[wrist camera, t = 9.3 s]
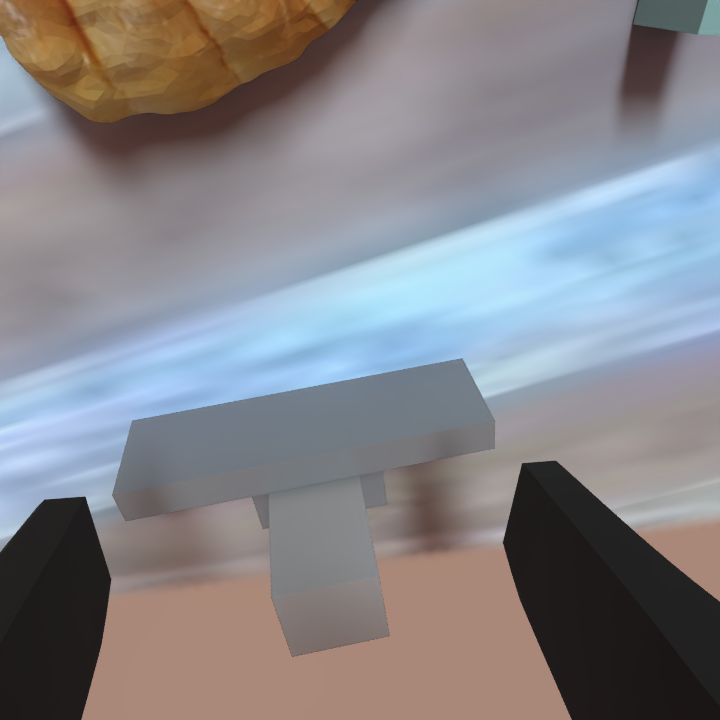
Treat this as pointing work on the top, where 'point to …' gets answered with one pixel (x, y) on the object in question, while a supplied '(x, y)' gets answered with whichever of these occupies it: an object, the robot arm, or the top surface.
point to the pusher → (309, 480)
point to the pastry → (157, 48)
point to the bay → (680, 15)
